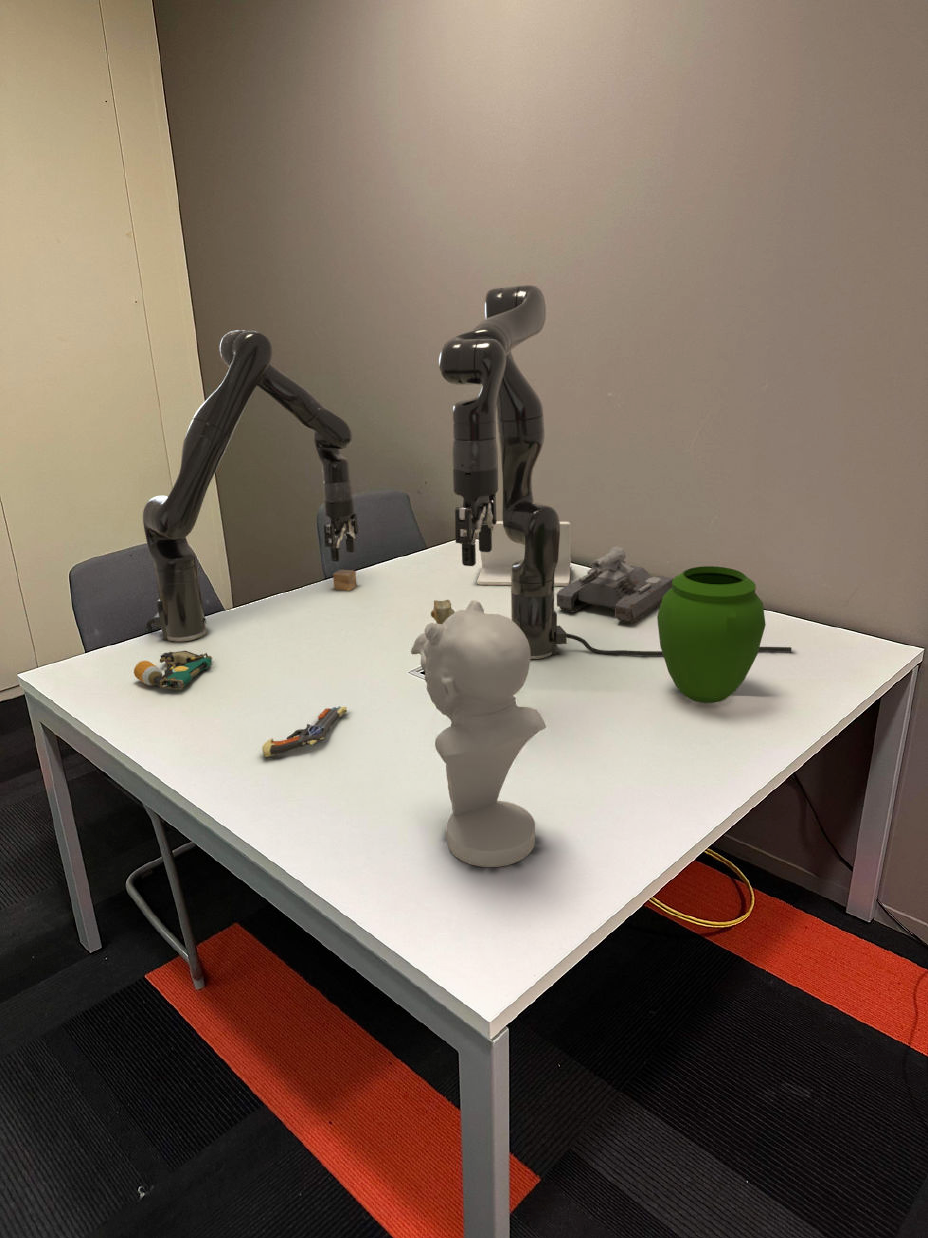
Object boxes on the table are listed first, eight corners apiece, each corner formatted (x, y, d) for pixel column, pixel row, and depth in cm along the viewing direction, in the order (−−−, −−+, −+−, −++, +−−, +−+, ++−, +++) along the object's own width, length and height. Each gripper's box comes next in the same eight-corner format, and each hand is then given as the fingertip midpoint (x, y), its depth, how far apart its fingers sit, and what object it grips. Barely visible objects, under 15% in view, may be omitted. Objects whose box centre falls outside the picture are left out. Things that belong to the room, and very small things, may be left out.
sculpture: (458, 662, 183) (456, 596, 178) (460, 676, 176) (457, 608, 171) (431, 663, 183) (428, 597, 177) (431, 677, 176) (428, 609, 171)
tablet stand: (569, 585, 229) (570, 524, 223) (476, 584, 232) (475, 523, 226) (570, 566, 246) (571, 508, 240) (484, 564, 249) (483, 507, 243)
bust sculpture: (481, 772, 140) (476, 569, 128) (565, 848, 120) (569, 617, 108) (392, 800, 134) (378, 588, 121) (465, 886, 114) (457, 642, 101)
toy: (603, 584, 229) (605, 530, 224) (673, 597, 218) (677, 540, 213) (555, 612, 210) (556, 553, 205) (630, 627, 199) (633, 566, 194)
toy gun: (257, 746, 146) (311, 744, 144) (298, 704, 164) (347, 701, 161) (260, 761, 146) (314, 759, 144) (300, 717, 164) (349, 715, 162)
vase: (769, 686, 168) (782, 568, 159) (741, 727, 152) (753, 599, 144) (673, 667, 178) (680, 554, 169) (637, 703, 162) (643, 582, 154)
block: (341, 584, 236) (340, 569, 235) (356, 586, 234) (355, 570, 233) (334, 589, 232) (332, 573, 231) (349, 591, 231) (348, 575, 229)
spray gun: (177, 659, 191) (231, 671, 185) (120, 684, 176) (176, 698, 171) (176, 641, 190) (230, 653, 184) (118, 665, 175) (174, 678, 169)
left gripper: (338, 490, 232) (343, 548, 238) (312, 502, 220) (318, 563, 225) (363, 492, 229) (367, 550, 235) (338, 504, 217) (343, 565, 223)
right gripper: (468, 456, 150) (471, 546, 155) (438, 472, 137) (442, 568, 143) (509, 458, 147) (510, 548, 153) (482, 474, 135) (484, 572, 140)
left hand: (343, 556), depth 230 cm, fingers open, 8 cm apart
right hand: (477, 558), depth 148 cm, fingers open, 8 cm apart
